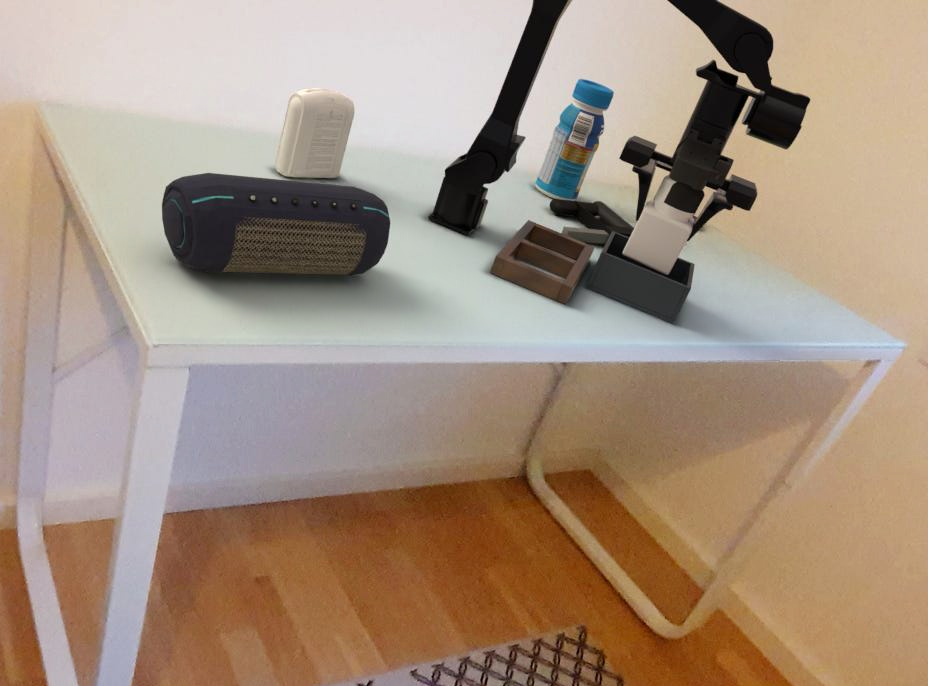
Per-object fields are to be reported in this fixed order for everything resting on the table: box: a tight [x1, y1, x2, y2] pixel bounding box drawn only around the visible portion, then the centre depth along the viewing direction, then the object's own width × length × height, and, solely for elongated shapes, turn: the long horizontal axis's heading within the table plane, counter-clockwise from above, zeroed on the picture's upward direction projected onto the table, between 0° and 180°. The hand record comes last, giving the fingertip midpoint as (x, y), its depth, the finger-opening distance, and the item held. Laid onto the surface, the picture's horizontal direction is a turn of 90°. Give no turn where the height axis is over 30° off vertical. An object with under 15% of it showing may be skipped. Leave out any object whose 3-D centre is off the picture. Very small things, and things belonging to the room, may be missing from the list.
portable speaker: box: [161, 172, 391, 277], centre depth 92 cm, size 25×10×10 cm, turn 122°
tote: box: [585, 231, 695, 325], centre depth 123 cm, size 13×12×6 cm
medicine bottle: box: [623, 174, 706, 275], centre depth 119 cm, size 7×7×12 cm
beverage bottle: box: [534, 78, 614, 201], centre depth 152 cm, size 8×8×20 cm
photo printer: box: [274, 87, 355, 179], centre depth 121 cm, size 10×4×12 cm, turn 134°
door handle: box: [549, 198, 635, 247], centre depth 142 cm, size 3×20×16 cm
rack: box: [489, 219, 596, 305], centre depth 121 cm, size 11×21×2 cm, turn 162°
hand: (661, 230), depth 120 cm, fingers closed on medicine bottle, 7 cm apart
